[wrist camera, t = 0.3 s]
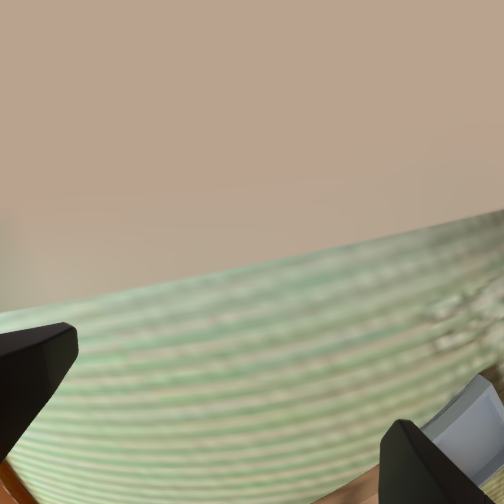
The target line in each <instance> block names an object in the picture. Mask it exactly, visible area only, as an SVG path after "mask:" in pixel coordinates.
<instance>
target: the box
mask: <svg viewBox="0 0 504 504" xmlns="http://www.w3.org/2000/svg"><path fill="white" fill-rule="evenodd" d="M420 430H421V431H422V432H423V433H424V434H425V435H426V436H427V437H428V438H429V439H430V440H431V441H432V442H433V443H434V444H435V445H436V446H437V447H438V448H439V449H440V450H441V451H442V452H443V453H444V454H445V455H446V456H447V457H448V458H449V459H450V460H451V461H452V462H453V463H454V464H455V465H456V466H457V467H458V468H459V469H460V470H461V471H462V472H463V473H464V474H465V475H467V476H468V477H469V478H470V479H471V480H472V481H473V482H474V483H475V484H476V485H477V486H478V487H479V488H481V487H482V486H483V485H484V484H485V483H487V482H488V481H489V480H490V479H491V478H492V477H493V476H494V475H496V474H497V473H498V472H499V471H500V470H501V469H502V468H503V467H504V406H503V404H502V402H501V400H500V398H499V396H498V394H497V392H496V390H495V388H494V387H493V385H492V383H491V382H489V381H488V380H486V379H485V378H484V377H482V376H481V375H480V374H477V375H476V376H475V377H474V379H473V380H472V381H471V382H470V383H469V384H468V385H467V386H466V387H465V388H464V389H463V390H462V391H461V392H460V393H459V394H458V395H457V396H456V397H455V398H454V399H453V400H452V401H451V402H450V403H449V404H448V405H447V406H446V407H445V408H444V409H442V410H441V411H440V412H439V413H438V414H437V415H436V416H435V417H434V418H432V419H431V420H430V421H429V422H428V423H427V424H426V425H424V426H423V427H422V428H421V429H420Z"/></svg>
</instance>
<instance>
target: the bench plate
mask: <svg viewBox="0 0 504 504" xmlns="http://www.w3.org/2000/svg"><path fill="white" fill-rule="evenodd" d="M378 480H379V464H378V465H377V466H375V467H374V468H372V469H371V470H369V471H368V472H366V473H365V474H363V475H362V476H360V477H358V478H357V479H355V480H353V481H352V482H350V483H348V484H347V485H345V486H343V487H342V488H340V489H338V490H336V491H334V492H333V493H331V494H329V495H327V496H325V497H323V498H321V499H319V500H317V501H315V502H314V503H311V504H378Z"/></svg>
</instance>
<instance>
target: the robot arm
mask: <svg viewBox="0 0 504 504" xmlns="http://www.w3.org/2000/svg"><path fill="white" fill-rule="evenodd" d="M78 352H79V349H78V337H77V330H76V328H75V327H74V326H72V325H70V324H68V323H65V322H62V323H57V324H51V325H46V326H41V327H36V328H30V329H25V330H20V331H14V332H8V333H3V334H0V465H1V463H2V462H3V461H4V459H5V458H6V456H7V455H8V453H9V452H10V451H11V449H12V448H13V447H14V445H15V444H16V442H17V441H18V440H19V438H20V437H21V436H22V434H23V433H24V432H25V430H26V429H27V428H28V426H29V425H30V424H31V423H32V421H33V420H34V419H35V417H36V416H37V415H38V413H39V412H40V411H41V410H42V408H43V407H44V406H45V404H46V403H47V402H48V401H49V399H50V398H51V397H52V395H53V394H54V393H55V391H56V390H57V388H58V386H59V385H60V383H61V382H62V380H63V378H64V377H65V375H66V374H67V372H68V371H69V369H70V368H71V366H72V364H73V363H74V361H75V360H76V358H77V356H78ZM378 504H495V503H494V502H493V501H492V500H491V499H490V498H489V497H488V496H487V495H486V494H485V495H484V492H483V491H482V490H481V489H480V488H479V487H478V486H477V485H476V484H475V483H474V482H473V481H472V480H471V479H470V478H469V477H468V476H467V475H465V474H464V473H463V472H462V471H461V470H460V469H459V468H458V467H457V466H456V465H455V464H454V463H453V462H452V461H451V460H450V459H449V458H448V457H447V456H446V455H445V454H444V453H443V452H442V451H441V450H440V449H439V448H438V447H437V446H436V445H435V444H434V443H433V442H432V441H431V440H430V439H429V438H428V437H427V436H426V435H425V434H424V433H423V432H422V431H421V430H420V429H419V428H418V427H417V426H416V425H415V424H414V423H413V422H412V421H410V420H405V419H398V420H396V421H395V422H394V423H393V424H392V426H391V427H390V428H389V430H388V431H387V432H386V434H385V435H384V436H383V438H382V440H381V443H380V462H379V480H378Z"/></svg>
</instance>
